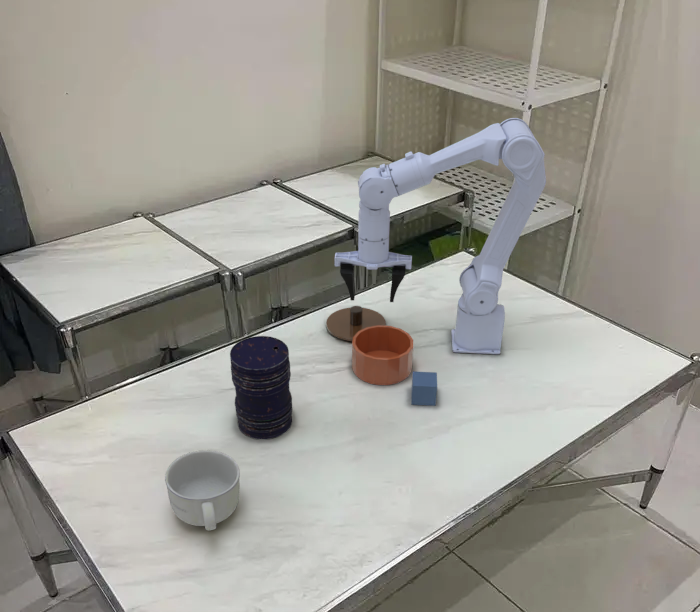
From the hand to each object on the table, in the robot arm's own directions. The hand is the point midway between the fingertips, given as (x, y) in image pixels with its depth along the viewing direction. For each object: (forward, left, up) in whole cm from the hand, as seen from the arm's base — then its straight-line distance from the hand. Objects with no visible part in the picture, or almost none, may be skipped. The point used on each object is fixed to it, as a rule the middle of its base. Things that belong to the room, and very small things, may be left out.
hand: (372, 298), depth 141 cm
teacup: (+23, +50, -11) cm, 55 cm away
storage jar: (+17, +27, -11) cm, 33 cm away
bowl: (-3, +9, -10) cm, 14 cm away
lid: (+3, -5, -10) cm, 12 cm away
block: (-11, +18, -10) cm, 23 cm away
